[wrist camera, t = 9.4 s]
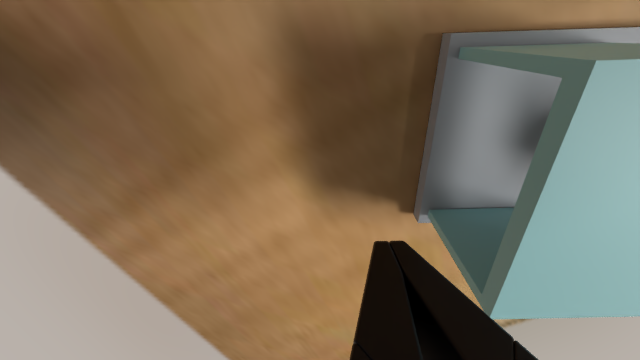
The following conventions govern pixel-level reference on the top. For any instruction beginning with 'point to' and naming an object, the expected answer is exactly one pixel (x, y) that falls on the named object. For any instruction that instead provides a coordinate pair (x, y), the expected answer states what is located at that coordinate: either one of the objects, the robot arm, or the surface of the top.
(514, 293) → the housing cover
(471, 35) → the base plate
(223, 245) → the top surface
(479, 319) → the robot arm
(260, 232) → the top surface
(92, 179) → the top surface
